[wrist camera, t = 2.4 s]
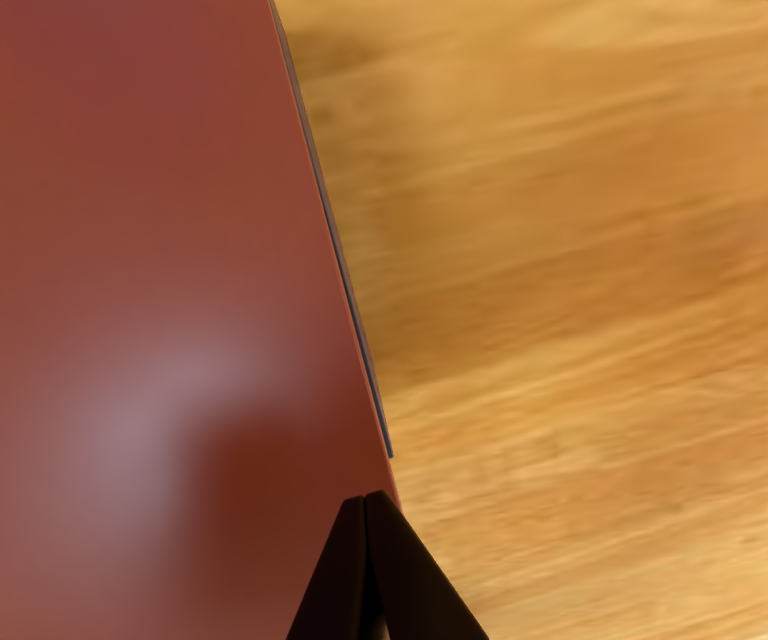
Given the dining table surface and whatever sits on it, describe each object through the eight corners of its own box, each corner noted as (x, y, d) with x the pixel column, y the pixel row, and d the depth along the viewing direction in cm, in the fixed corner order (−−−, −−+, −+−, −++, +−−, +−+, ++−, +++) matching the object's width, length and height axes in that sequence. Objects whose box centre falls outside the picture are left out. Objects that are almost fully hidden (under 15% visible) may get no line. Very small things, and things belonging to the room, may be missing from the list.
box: (375, 371, 21) (394, 458, 15) (143, 431, 21) (65, 546, 15) (284, 30, 15) (253, -60, 9) (-44, 105, 15) (-311, 65, 9)
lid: (424, 594, 11) (429, 619, 10) (-57, 731, 10) (-92, 769, 9) (254, -55, 9) (245, -87, 8) (-310, 70, 9) (-378, 49, 8)
